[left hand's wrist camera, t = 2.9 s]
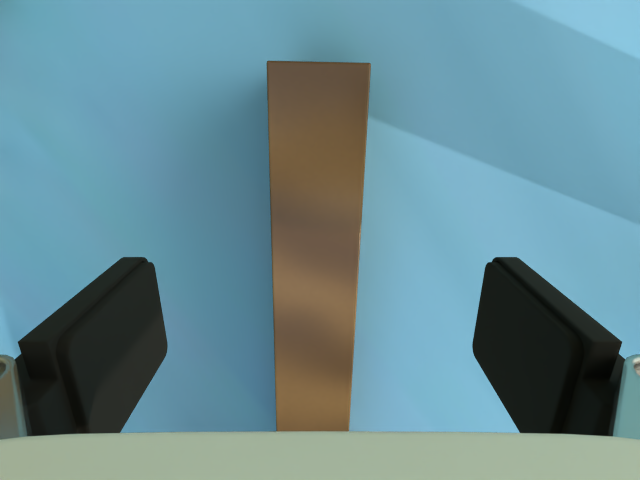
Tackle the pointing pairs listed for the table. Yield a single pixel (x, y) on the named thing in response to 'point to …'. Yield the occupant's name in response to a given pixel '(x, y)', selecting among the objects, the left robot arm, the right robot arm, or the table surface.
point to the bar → (315, 235)
